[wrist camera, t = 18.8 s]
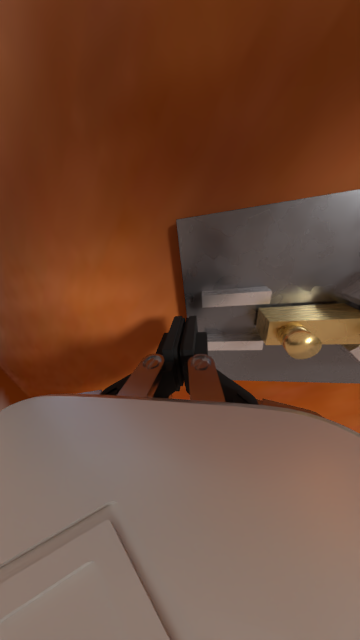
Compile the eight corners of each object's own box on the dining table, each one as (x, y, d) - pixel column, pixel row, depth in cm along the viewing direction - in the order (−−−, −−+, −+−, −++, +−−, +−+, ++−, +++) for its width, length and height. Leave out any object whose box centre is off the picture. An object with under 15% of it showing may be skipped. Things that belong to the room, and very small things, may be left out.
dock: (178, 221, 11) (169, 214, 8) (671, 140, 7) (1020, 67, 4) (194, 372, 19) (192, 398, 16) (442, 376, 14) (506, 413, 11)
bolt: (258, 307, 12) (280, 334, 9) (343, 303, 11) (406, 331, 8) (255, 328, 13) (274, 360, 10) (334, 325, 12) (386, 360, 9)
